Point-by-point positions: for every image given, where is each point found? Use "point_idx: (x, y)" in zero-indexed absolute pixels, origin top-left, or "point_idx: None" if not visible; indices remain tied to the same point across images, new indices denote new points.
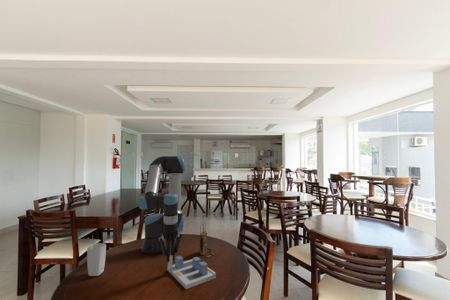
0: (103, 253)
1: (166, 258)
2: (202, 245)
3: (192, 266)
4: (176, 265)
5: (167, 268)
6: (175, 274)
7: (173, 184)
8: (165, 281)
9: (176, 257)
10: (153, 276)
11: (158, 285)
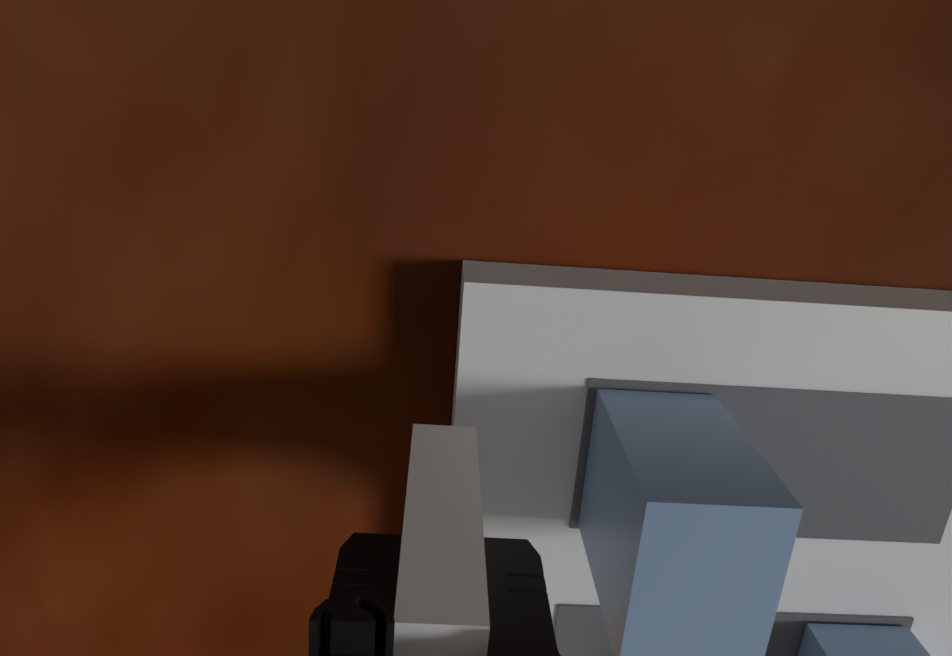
0: None
1: (331, 593)
2: None
3: (813, 642)
4: (594, 473)
5: (463, 275)
6: None
7: None
8: (271, 580)
9: (650, 553)
10: (141, 316)
11: (138, 613)
